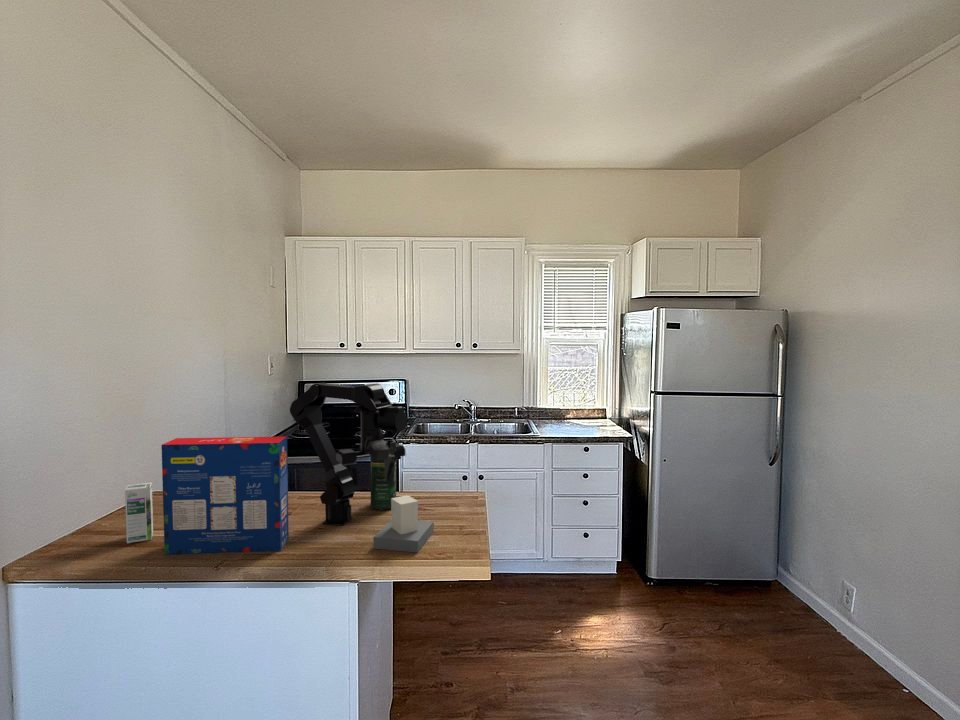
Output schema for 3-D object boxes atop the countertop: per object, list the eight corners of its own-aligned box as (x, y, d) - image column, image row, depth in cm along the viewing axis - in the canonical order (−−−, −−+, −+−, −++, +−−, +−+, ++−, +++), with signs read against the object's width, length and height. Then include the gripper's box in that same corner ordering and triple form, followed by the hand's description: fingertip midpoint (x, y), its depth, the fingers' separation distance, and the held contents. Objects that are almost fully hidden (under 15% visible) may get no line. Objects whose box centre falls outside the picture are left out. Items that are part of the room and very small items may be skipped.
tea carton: (391, 527, 143) (391, 498, 142) (408, 523, 145) (408, 495, 145) (400, 534, 138) (400, 504, 137) (418, 530, 140) (417, 501, 140)
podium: (373, 548, 136) (373, 537, 136) (393, 528, 150) (393, 518, 150) (417, 552, 134) (417, 541, 134) (433, 532, 147) (433, 521, 147)
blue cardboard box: (288, 538, 142) (287, 436, 141) (280, 551, 134) (278, 442, 133) (179, 542, 139) (176, 438, 138) (164, 555, 131) (161, 444, 130)
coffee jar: (393, 510, 165) (393, 452, 164) (368, 510, 165) (368, 452, 164) (398, 500, 174) (398, 445, 173) (374, 500, 174) (374, 445, 173)
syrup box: (126, 544, 138) (124, 489, 137) (129, 536, 143) (127, 483, 142) (151, 540, 141) (150, 486, 140) (153, 532, 146) (152, 481, 145)
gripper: (348, 437, 137) (349, 496, 137) (413, 429, 147) (414, 485, 148) (335, 430, 146) (335, 485, 147) (397, 423, 156) (397, 475, 157)
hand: (371, 483), depth 149 cm, fingers open, 9 cm apart
